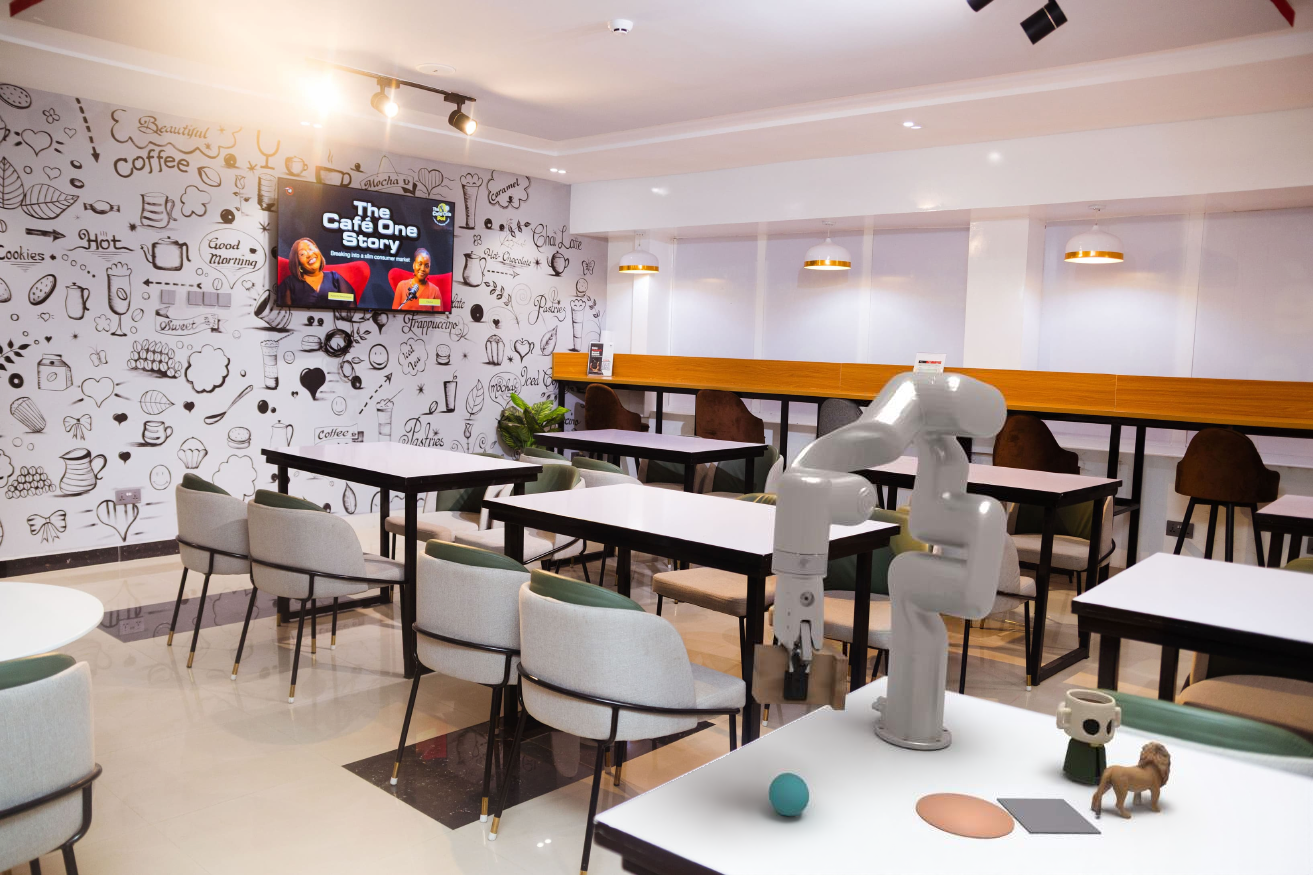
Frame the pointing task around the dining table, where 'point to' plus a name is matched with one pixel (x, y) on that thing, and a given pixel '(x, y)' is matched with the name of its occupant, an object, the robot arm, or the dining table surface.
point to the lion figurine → (1136, 779)
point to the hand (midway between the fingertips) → (790, 692)
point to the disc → (965, 815)
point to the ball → (788, 794)
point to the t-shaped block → (822, 683)
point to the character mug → (1087, 732)
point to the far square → (1048, 816)
